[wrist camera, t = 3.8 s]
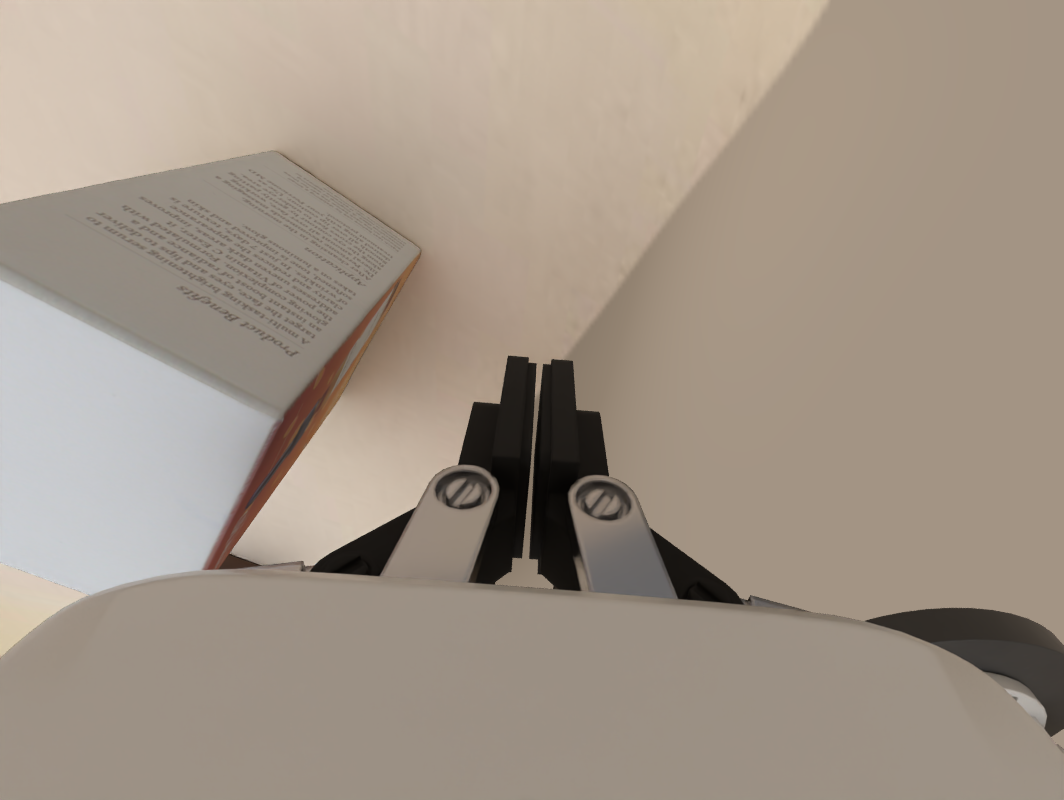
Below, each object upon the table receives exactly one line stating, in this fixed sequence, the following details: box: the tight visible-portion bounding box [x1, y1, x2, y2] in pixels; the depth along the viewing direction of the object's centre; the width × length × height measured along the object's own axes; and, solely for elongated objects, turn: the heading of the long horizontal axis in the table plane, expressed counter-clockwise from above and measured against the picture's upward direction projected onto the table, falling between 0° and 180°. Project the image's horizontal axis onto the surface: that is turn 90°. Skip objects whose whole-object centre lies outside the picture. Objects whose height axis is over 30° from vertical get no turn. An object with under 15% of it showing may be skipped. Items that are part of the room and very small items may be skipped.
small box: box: [0, 151, 421, 595], centre depth 13 cm, size 8×6×10 cm
